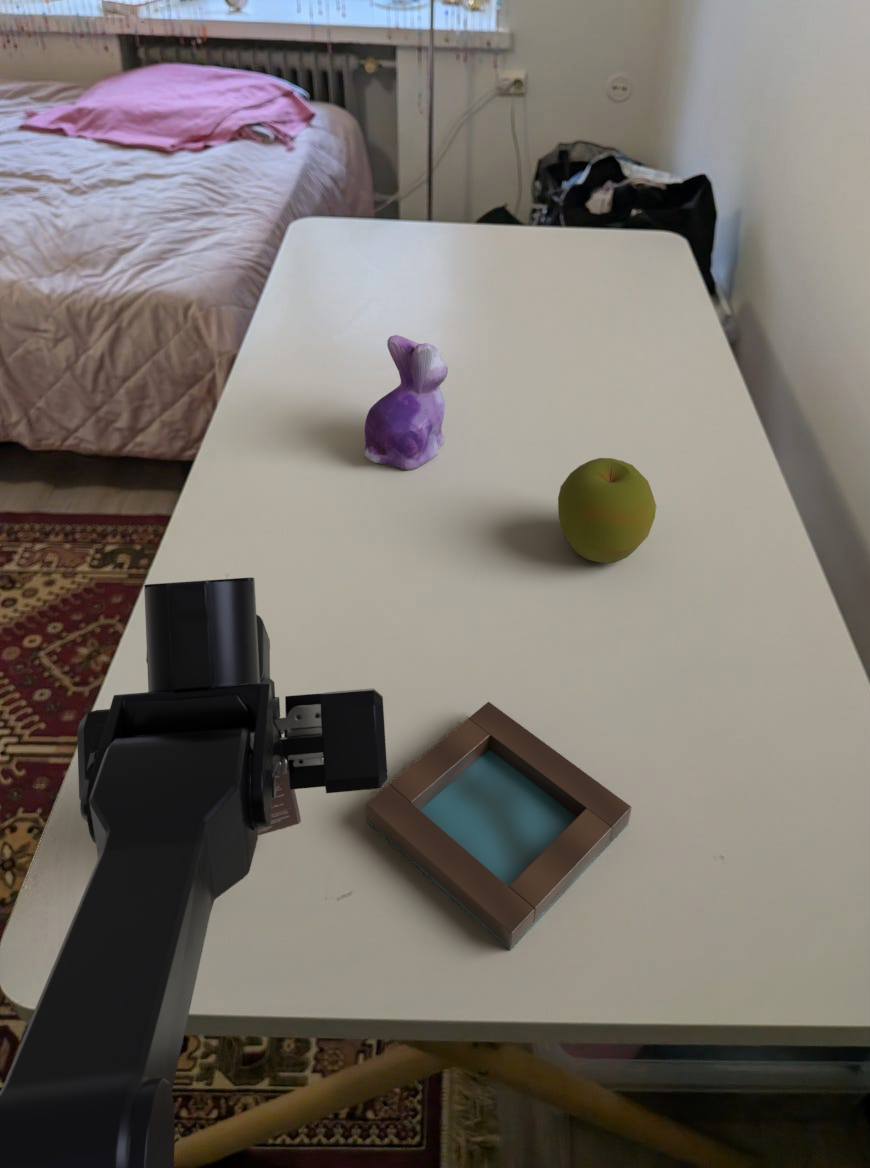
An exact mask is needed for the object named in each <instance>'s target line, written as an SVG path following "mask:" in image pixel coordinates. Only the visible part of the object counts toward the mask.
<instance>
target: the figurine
mask: <svg viewBox="0 0 870 1168" xmlns="http://www.w3.org/2000/svg"><path fill="white" fill-rule="evenodd" d="M386 344H387V345H386V346H387V349H388V352H389V355H390V357H391V359H392V361H393V363H394V365H395V367H396V369H397V371H398V374H399V378H400V384H399V385H398V386H397V387H396V388H394V389H393V390H391V391H390V392H388V393H387V394H385V395H384V396H382V397H381V398H380V399H379V400H377V401H376V402H375V403H374V404H373V405H372V406H371V407H370V408H369V410H368V412H367V413H366V414H367V415H366V418H365V422H364V443H365V444H364V456H365V457H366V459H368V460H370V461H371V462H373V463H375V464H382V465H386V466H391V467H393V468H398V469H401V470H404V471H410V470H416V469H418V468H420V467H422V466H423V465H425V464H426V463H428V462H430V461H431V460H433V459H434V458H435V457H437V455H438V452H439V449H440V447H442V445H443V444H444V443H445V436H444V434H443V431H442V428H443V422H444V418H445V411H446V403H445V402H446V401H445V398H444V395H443V392H442V390H441V387H440V386H441V385H442V383H444V381H445V380H446V378H447V377H448V371H449V368H448V365H447V363H445V361H444V360H443V357H442V352H441V350H440V349H439V348H438V347H436V346H435V345H433V344H430V343H426V342H425V343H419V342H416V341H413V340H411V339H409V338H407V337H405V336H402V335H398V334H395V335H390V336H389V337H388V339H387V343H386Z"/></svg>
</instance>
